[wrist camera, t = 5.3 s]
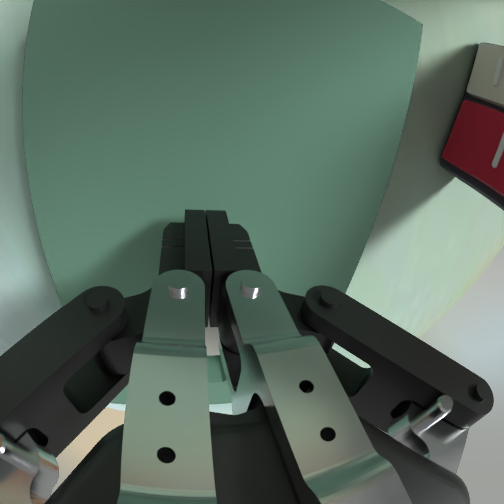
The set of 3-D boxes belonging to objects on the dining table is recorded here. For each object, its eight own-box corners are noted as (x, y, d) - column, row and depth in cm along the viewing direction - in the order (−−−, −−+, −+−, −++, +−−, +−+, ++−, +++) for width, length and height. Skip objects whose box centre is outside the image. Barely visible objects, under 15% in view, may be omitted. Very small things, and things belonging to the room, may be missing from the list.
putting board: (385, 26, 10) (422, 24, 7) (284, 368, 25) (292, 395, 23) (66, -8, 6) (39, -22, 4) (113, 374, 22) (111, 403, 19)
